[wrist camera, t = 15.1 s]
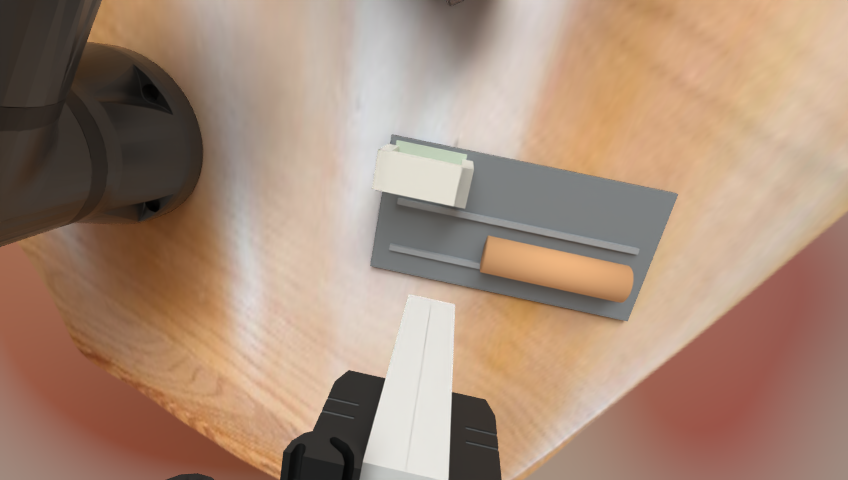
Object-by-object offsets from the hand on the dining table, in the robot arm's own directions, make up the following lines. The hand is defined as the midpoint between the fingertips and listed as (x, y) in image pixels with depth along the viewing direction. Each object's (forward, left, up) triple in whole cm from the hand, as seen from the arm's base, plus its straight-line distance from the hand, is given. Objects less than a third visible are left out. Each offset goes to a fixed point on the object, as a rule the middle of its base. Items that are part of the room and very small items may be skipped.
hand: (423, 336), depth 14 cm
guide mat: (+6, -3, -25) cm, 25 cm away
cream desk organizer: (-2, +1, -24) cm, 24 cm away
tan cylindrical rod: (+10, -4, -24) cm, 26 cm away
